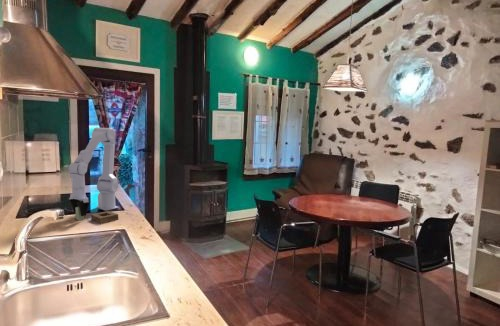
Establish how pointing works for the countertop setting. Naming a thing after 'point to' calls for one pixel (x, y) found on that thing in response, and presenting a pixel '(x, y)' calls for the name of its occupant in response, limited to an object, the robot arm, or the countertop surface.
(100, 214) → the brown square frame
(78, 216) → the sage peg
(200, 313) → the countertop surface
